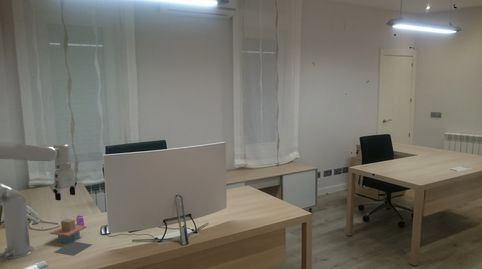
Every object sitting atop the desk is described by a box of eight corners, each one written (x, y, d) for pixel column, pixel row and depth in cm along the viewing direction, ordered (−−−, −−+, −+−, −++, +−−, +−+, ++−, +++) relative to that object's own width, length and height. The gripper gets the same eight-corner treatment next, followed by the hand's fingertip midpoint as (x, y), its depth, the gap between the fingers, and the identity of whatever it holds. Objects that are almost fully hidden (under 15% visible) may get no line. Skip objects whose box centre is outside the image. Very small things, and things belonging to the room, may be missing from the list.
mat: (73, 256, 168) (73, 255, 168) (53, 253, 172) (53, 252, 172) (92, 245, 180) (92, 244, 180) (73, 242, 184) (73, 241, 184)
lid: (68, 236, 180) (67, 226, 179) (50, 233, 184) (49, 223, 183) (86, 227, 191) (85, 217, 191) (68, 225, 195) (68, 215, 195)
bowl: (69, 244, 182) (68, 235, 181) (54, 241, 185) (53, 233, 184) (83, 236, 191) (83, 228, 191) (69, 234, 195) (68, 226, 194)
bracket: (83, 225, 209) (82, 214, 208) (84, 228, 204) (83, 217, 203) (59, 229, 203) (58, 218, 202) (59, 232, 198) (58, 221, 197)
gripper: (55, 170, 174) (57, 202, 176) (81, 163, 190) (83, 193, 192) (44, 169, 176) (46, 201, 178) (70, 163, 192) (72, 192, 194)
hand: (65, 197), depth 185 cm, fingers open, 9 cm apart
